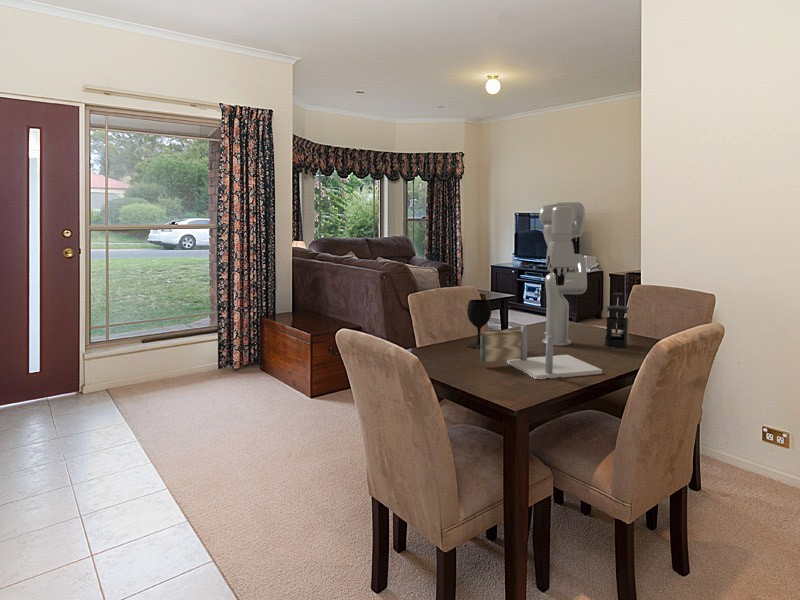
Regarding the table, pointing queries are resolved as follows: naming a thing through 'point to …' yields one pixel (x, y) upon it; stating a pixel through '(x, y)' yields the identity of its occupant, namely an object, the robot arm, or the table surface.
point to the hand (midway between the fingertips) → (559, 285)
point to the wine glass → (478, 316)
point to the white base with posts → (550, 362)
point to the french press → (616, 340)
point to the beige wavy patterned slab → (500, 345)
